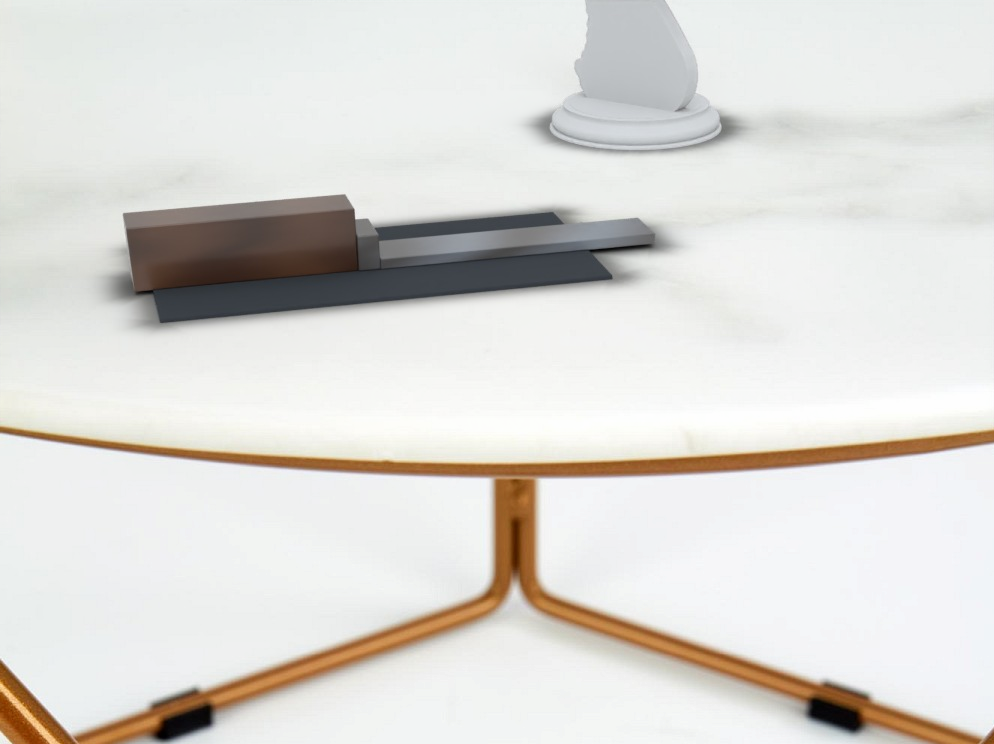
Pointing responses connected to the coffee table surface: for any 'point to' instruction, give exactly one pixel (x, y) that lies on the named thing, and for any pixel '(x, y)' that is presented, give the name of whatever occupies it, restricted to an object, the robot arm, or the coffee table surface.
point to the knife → (323, 242)
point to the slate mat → (389, 277)
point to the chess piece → (635, 82)
